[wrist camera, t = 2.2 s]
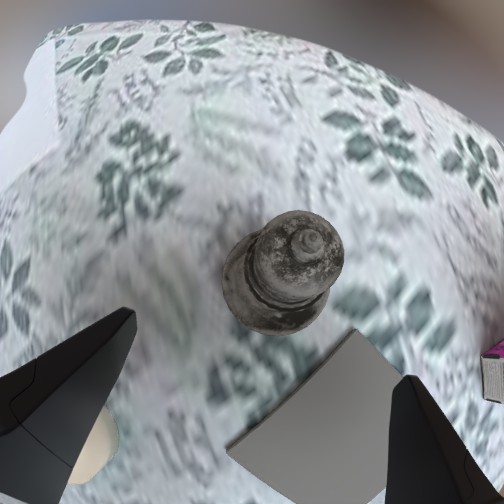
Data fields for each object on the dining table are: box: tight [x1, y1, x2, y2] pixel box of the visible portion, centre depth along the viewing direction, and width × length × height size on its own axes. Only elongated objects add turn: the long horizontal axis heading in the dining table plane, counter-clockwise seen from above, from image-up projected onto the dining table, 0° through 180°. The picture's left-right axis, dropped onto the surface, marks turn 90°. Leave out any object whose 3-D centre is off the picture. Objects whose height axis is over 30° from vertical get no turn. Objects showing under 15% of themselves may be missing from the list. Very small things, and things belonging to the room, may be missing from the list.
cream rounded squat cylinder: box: [67, 404, 119, 485], centre depth 14 cm, size 7×7×4 cm
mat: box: [226, 329, 403, 504], centre depth 16 cm, size 12×12×1 cm
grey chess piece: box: [222, 210, 344, 336], centre depth 13 cm, size 6×6×12 cm
